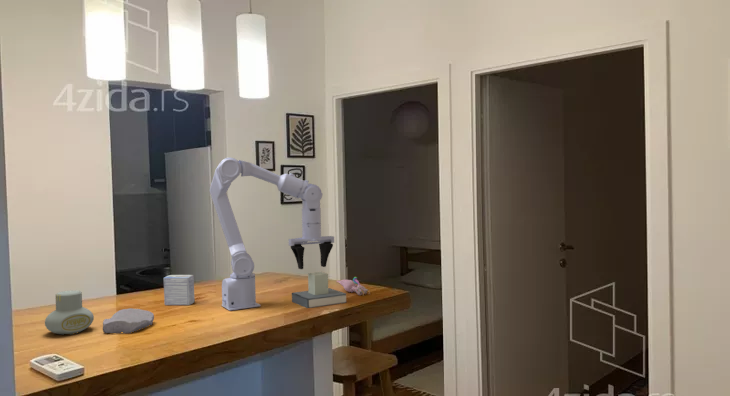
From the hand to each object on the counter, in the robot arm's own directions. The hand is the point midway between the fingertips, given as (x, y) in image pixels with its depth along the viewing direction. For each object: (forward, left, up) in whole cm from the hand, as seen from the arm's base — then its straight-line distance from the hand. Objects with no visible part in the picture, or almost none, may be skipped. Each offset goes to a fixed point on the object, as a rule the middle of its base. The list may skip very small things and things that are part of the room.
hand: (312, 267), depth 174 cm
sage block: (+1, -2, -8) cm, 8 cm away
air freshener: (-66, +4, -11) cm, 67 cm away
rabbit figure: (+17, +5, -11) cm, 20 cm away
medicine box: (-35, +21, -11) cm, 42 cm away
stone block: (-52, -1, -11) cm, 53 cm away
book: (+1, -2, -11) cm, 11 cm away
